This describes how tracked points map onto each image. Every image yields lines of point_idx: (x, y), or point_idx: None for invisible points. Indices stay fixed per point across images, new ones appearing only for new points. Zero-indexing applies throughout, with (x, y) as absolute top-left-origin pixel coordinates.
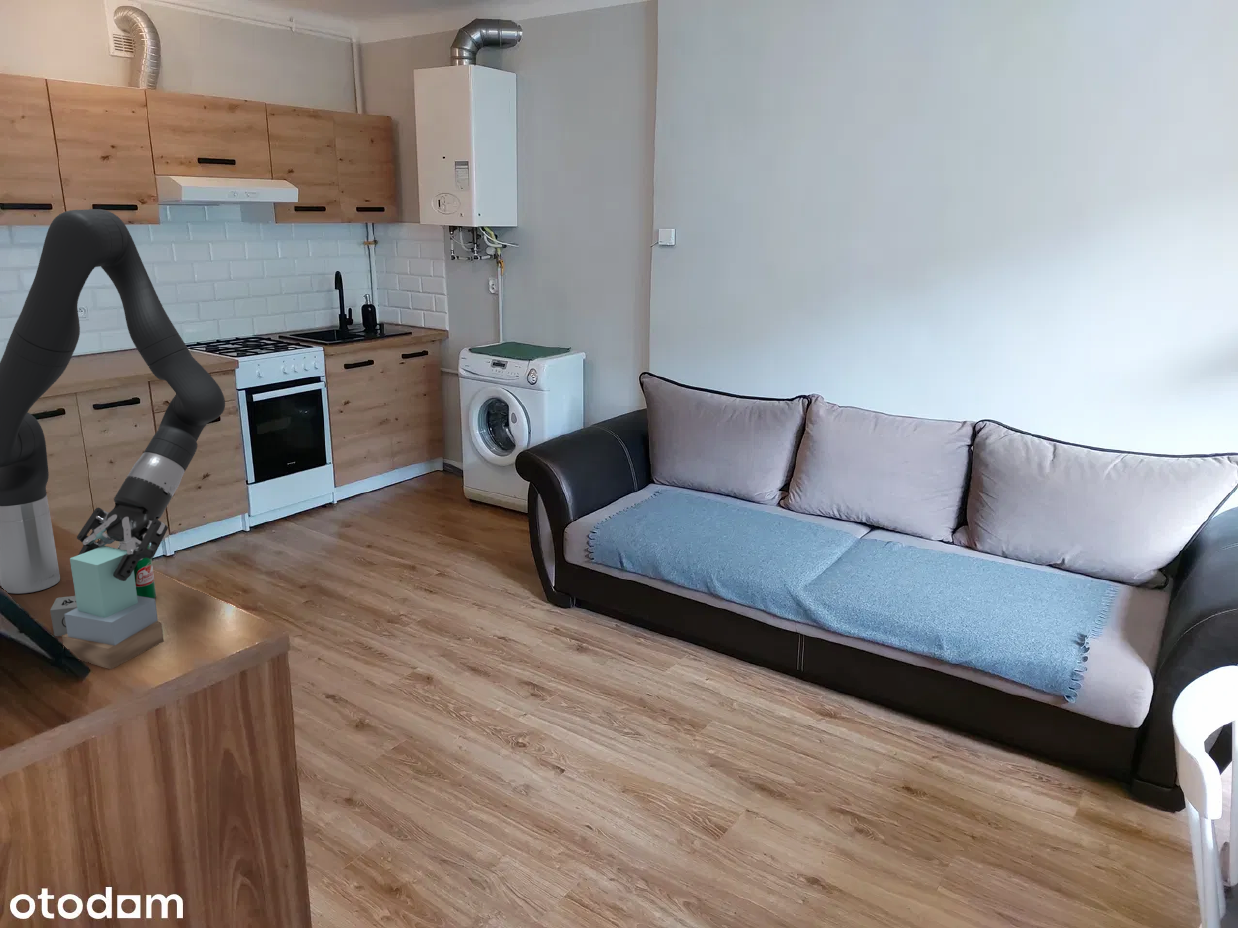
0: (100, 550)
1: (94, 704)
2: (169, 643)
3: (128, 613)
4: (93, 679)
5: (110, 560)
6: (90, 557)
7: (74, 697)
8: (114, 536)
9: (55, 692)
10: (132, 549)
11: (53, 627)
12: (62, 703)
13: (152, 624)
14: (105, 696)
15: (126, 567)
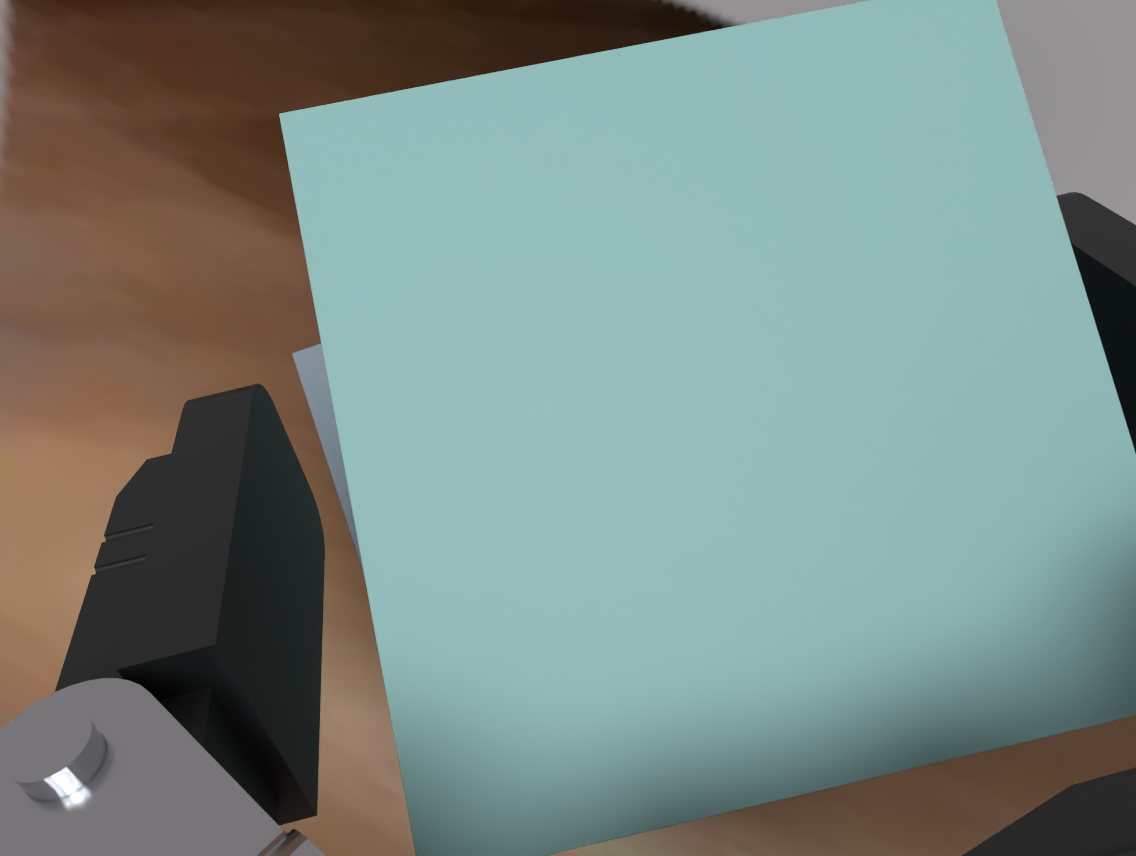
0: (990, 513)
1: (63, 140)
2: (388, 776)
3: (354, 536)
4: None
5: (338, 391)
6: (756, 219)
7: (223, 113)
8: (974, 851)
9: (358, 79)
10: (1, 810)
11: None
12: (214, 51)
13: None
14: (93, 212)
15: (103, 551)
